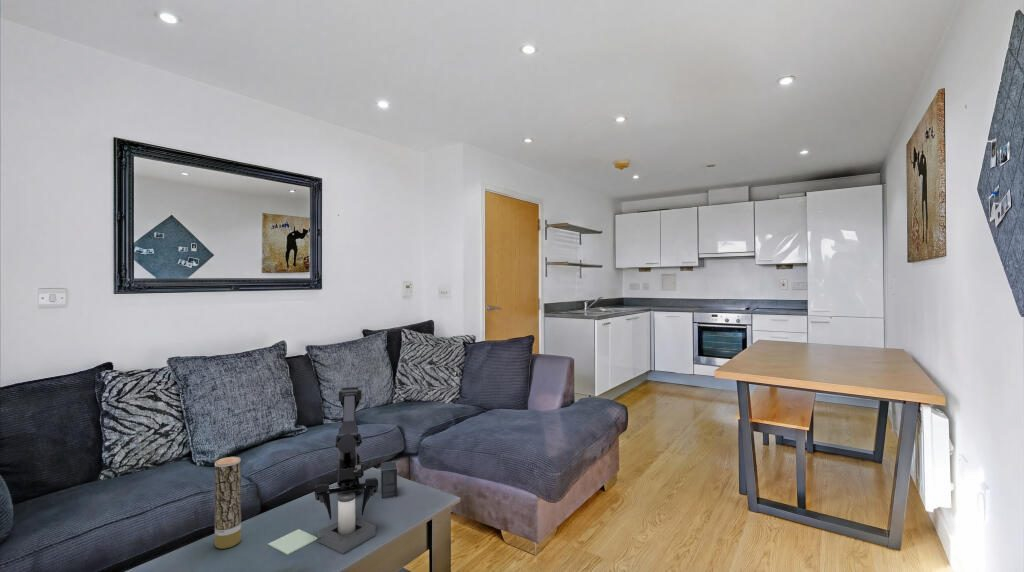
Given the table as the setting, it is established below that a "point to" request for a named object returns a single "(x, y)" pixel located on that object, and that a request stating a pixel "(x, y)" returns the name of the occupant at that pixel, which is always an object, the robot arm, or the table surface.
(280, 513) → the table surface
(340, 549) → the frame
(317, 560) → the table surface
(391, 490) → the box
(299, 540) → the mat
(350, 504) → the plug
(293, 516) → the table surface
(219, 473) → the bark textured cylinder
